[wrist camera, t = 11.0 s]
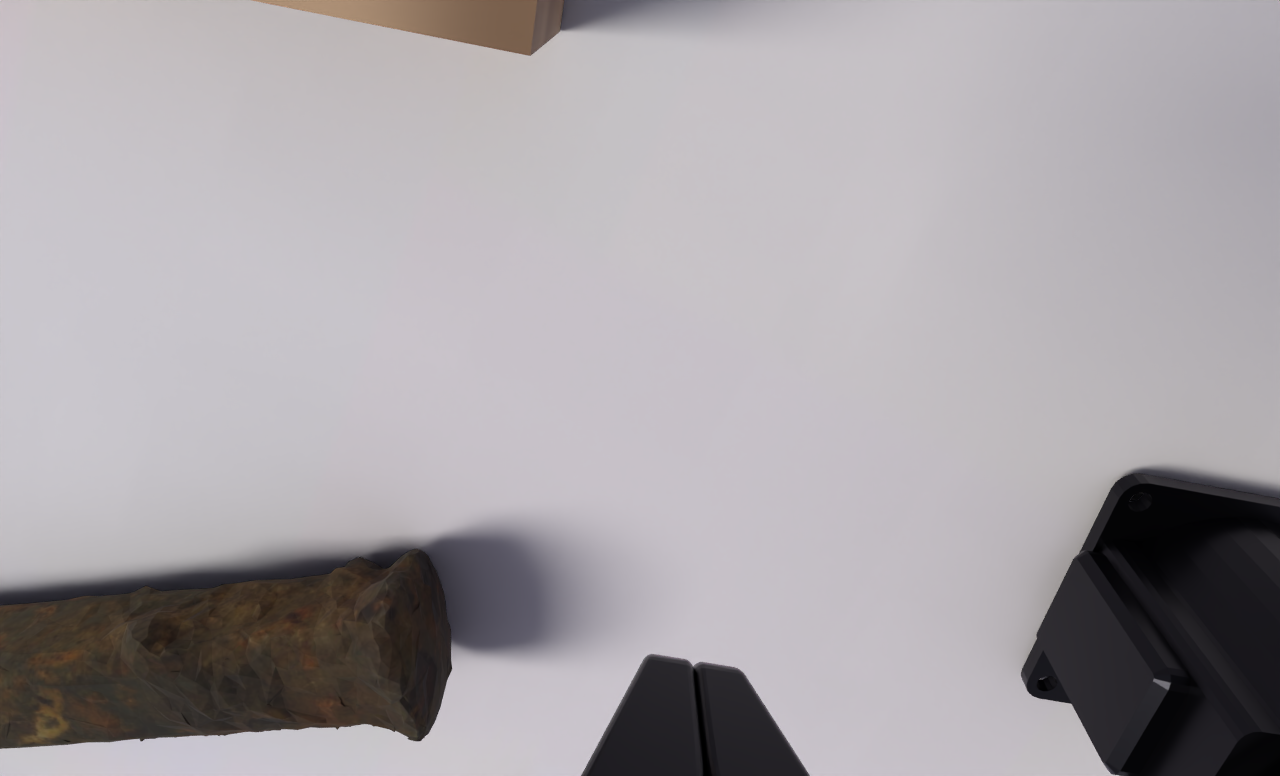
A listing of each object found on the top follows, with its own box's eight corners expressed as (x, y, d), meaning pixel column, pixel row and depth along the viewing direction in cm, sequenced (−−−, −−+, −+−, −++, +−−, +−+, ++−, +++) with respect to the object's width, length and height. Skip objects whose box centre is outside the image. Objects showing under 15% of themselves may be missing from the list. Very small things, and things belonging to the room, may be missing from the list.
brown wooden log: (443, 520, 22) (388, 651, 18) (469, 648, 24) (425, 795, 20) (-280, 554, 23) (-489, 685, 19) (-207, 674, 25) (-384, 818, 21)
